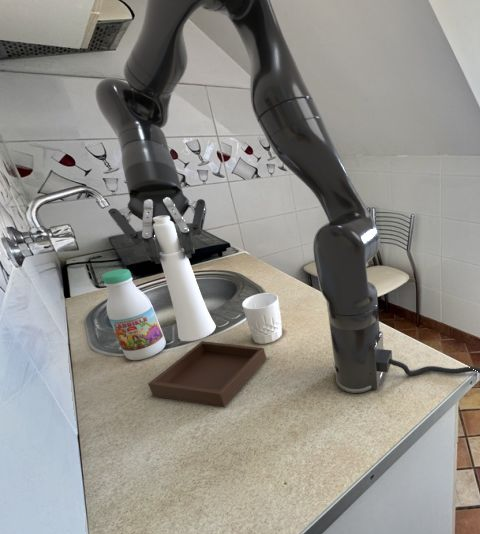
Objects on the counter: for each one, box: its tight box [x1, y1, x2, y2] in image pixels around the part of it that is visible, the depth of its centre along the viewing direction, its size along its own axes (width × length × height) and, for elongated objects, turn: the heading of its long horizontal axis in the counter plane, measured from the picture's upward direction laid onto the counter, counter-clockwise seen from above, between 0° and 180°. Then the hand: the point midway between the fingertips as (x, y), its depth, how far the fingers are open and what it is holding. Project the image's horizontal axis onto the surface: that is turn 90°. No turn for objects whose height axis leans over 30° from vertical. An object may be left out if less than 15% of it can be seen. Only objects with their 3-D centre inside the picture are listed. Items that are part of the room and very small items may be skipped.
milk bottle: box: [101, 268, 167, 361], centre depth 71 cm, size 8×8×20 cm
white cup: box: [241, 292, 283, 345], centre depth 78 cm, size 8×8×10 cm
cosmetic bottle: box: [153, 216, 217, 342], centre depth 56 cm, size 6×6×22 cm
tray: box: [147, 340, 267, 408], centre depth 66 cm, size 16×14×3 cm
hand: (173, 258), depth 52 cm, fingers closed on cosmetic bottle, 3 cm apart
